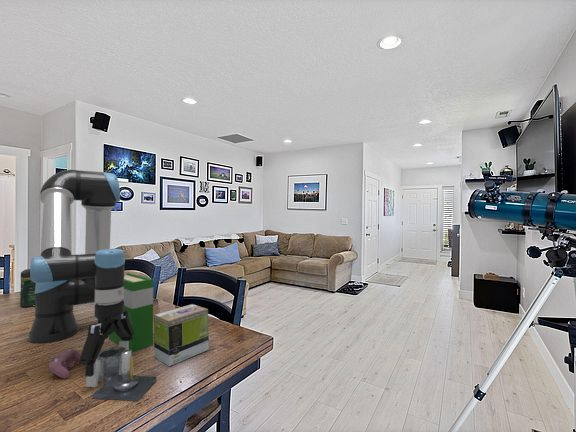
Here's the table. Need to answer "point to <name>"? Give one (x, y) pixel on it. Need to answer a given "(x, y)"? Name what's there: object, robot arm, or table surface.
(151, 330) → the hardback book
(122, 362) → the block
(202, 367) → the table surface
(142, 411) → the table surface
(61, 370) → the video game controller
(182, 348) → the tea box
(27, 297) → the coffee jar
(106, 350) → the hub
